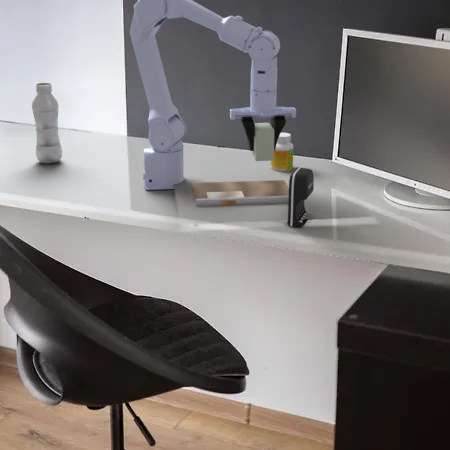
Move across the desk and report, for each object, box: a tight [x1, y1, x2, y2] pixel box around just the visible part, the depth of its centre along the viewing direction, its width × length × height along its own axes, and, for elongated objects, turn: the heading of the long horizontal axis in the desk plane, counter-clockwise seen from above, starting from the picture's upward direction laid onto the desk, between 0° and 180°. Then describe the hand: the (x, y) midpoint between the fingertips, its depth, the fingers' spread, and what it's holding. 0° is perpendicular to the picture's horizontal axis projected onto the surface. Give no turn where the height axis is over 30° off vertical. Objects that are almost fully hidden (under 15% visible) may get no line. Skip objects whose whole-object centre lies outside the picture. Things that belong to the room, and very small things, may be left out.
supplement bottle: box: [270, 132, 294, 173], centre depth 201 cm, size 5×5×10 cm
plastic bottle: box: [31, 82, 63, 164], centre depth 206 cm, size 6×7×20 cm
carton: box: [250, 122, 274, 162], centre depth 184 cm, size 4×6×7 cm
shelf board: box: [190, 179, 289, 207], centre depth 186 cm, size 22×15×2 cm
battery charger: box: [287, 166, 315, 228], centre depth 170 cm, size 7×4×11 cm, turn 160°
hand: (262, 149), depth 185 cm, fingers closed on carton, 4 cm apart
